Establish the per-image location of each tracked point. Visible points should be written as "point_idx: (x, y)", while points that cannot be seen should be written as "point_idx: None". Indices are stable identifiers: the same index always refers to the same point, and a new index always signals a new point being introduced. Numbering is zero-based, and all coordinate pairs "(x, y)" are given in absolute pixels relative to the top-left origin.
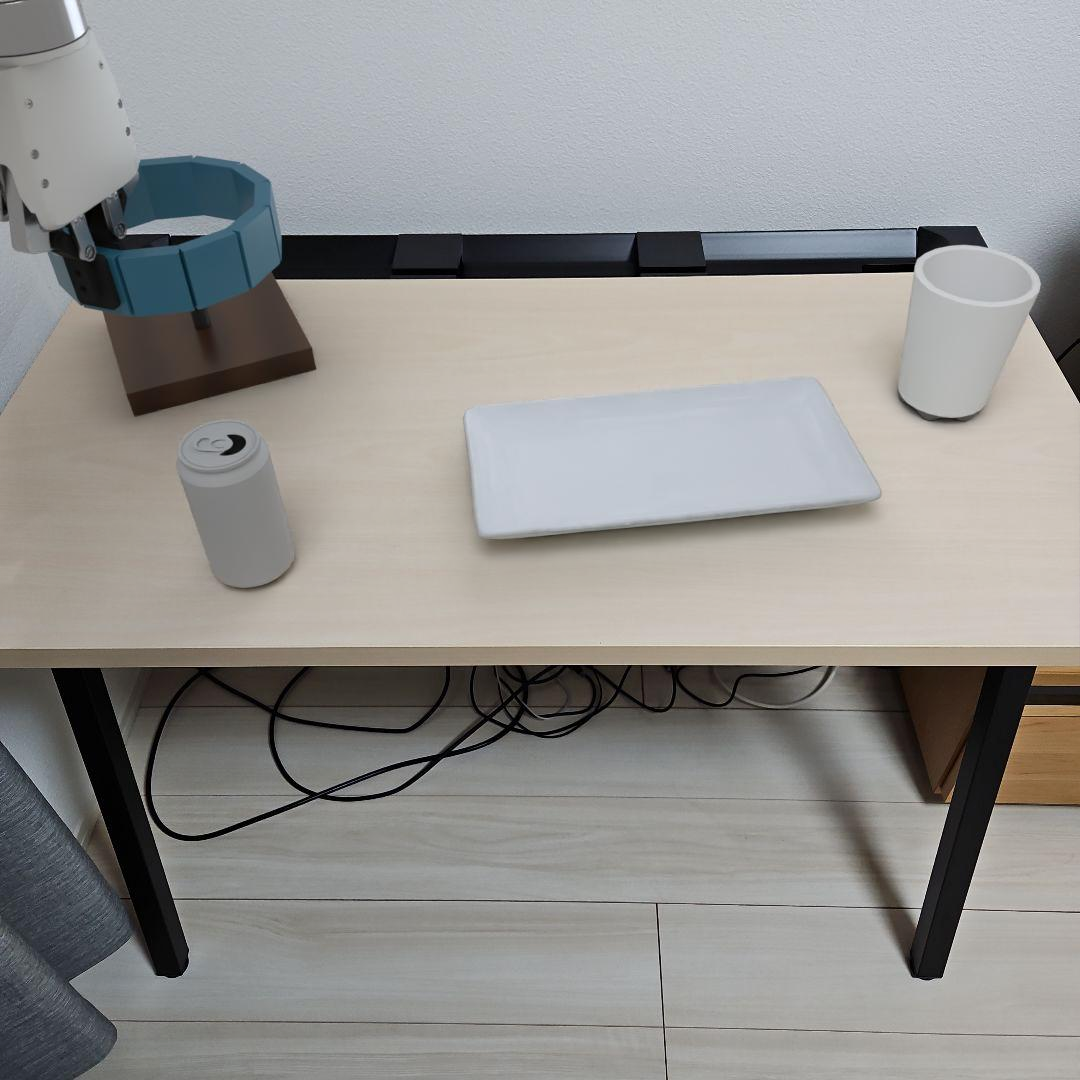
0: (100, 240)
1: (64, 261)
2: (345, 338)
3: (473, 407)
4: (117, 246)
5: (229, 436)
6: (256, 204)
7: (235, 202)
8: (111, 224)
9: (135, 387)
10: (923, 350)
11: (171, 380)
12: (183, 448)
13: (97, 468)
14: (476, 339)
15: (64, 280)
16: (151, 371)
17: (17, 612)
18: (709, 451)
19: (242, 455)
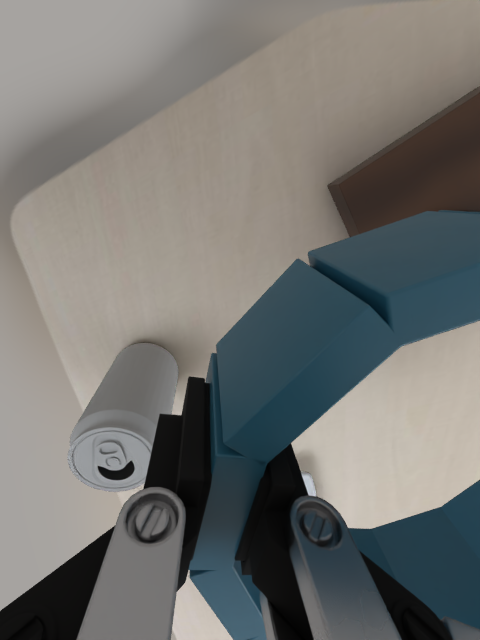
0: (255, 542)
1: (183, 448)
2: (437, 342)
3: (310, 479)
4: (241, 566)
5: None
6: None
7: None
8: (269, 632)
9: (350, 190)
10: None
11: (361, 227)
12: (96, 434)
13: (242, 182)
14: (419, 432)
15: (260, 316)
16: (380, 196)
17: (37, 198)
18: None
19: (101, 485)
